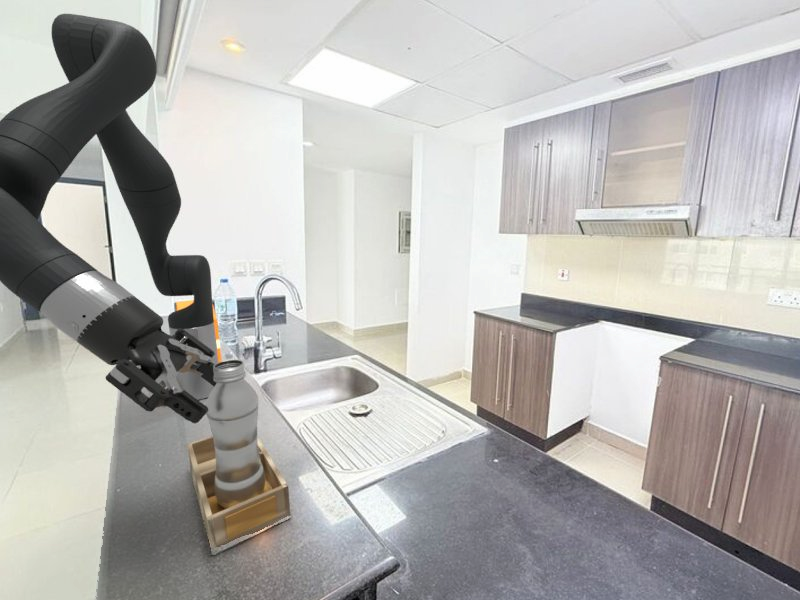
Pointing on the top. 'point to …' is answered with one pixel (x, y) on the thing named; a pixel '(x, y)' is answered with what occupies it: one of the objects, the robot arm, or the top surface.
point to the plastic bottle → (234, 435)
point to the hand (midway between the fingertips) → (216, 400)
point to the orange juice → (186, 303)
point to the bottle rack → (243, 515)
